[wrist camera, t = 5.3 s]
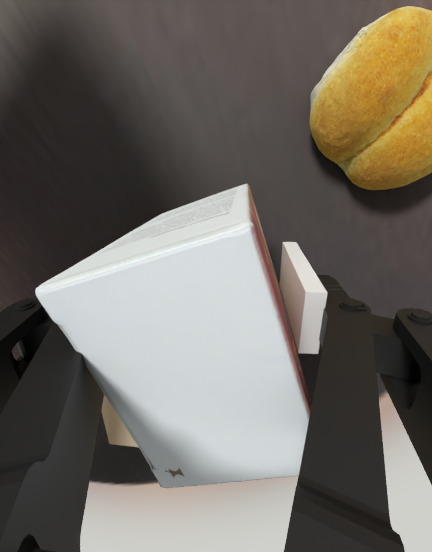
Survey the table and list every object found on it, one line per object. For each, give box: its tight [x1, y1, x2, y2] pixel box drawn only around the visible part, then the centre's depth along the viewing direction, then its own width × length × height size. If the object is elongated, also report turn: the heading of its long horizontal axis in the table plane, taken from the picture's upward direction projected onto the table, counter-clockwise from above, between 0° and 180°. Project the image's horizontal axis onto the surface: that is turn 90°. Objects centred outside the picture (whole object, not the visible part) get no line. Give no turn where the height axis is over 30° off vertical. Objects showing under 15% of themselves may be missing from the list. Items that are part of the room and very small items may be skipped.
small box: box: [35, 184, 312, 488], centre depth 12 cm, size 8×6×10 cm
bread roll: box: [310, 6, 432, 190], centre depth 15 cm, size 8×9×4 cm
